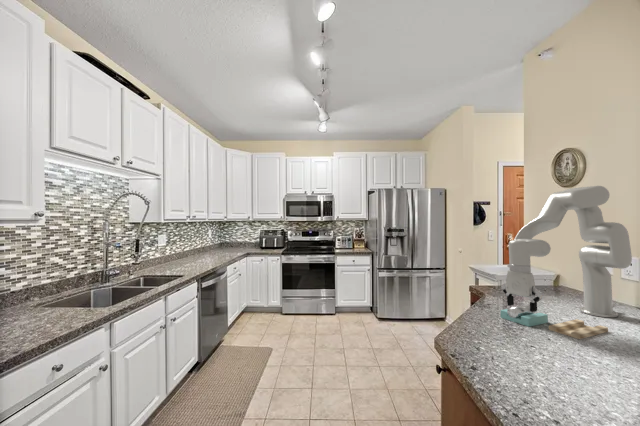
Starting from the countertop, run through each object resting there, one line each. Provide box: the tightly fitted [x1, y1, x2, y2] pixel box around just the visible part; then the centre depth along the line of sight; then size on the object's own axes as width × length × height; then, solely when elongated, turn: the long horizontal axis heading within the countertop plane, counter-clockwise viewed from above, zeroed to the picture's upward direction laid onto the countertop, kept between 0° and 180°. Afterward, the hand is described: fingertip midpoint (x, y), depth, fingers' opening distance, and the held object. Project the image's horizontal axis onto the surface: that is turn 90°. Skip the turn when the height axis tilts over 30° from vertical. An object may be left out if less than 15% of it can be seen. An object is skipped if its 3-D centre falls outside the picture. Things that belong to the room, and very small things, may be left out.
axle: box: [507, 304, 536, 318], centre depth 122 cm, size 12×4×4 cm, turn 110°
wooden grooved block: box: [548, 318, 609, 340], centre depth 110 cm, size 18×10×2 cm, turn 110°
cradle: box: [499, 308, 549, 328], centre depth 122 cm, size 12×12×4 cm
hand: (521, 308), depth 122 cm, fingers open, 9 cm apart
